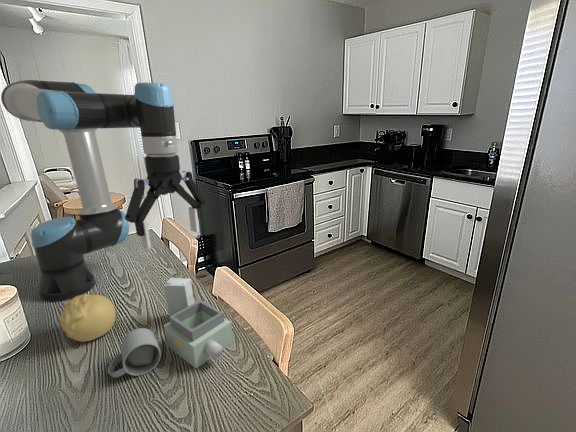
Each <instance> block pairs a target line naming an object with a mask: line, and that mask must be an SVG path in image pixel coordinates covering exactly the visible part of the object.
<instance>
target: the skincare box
mask: <svg viewBox="0 0 576 432" xmlns="http://www.w3.org/2000/svg"><path fill="white" fill-rule="evenodd" d="M163 289H164V295H165V300H166V306H167V309H168V310H167V311H168V316H169V317H170V316H172V315H174V314H176V313H177V312H179V311H181V310H183V309H185V308H187V307H189V306H190V305H192V304H194V303H195V299H194V294H193V293H194V292H193V286H192V279H191V278H186V277H185V278H183V277H182V278H181V277H179V278H178V277H170V278H169V279H168V280H166V282H165V283H164V285H163ZM169 317H168V318H169Z"/></svg>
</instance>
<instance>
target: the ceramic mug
mask: <svg viewBox="0 0 576 432" xmlns="http://www.w3.org/2000/svg"><path fill="white" fill-rule="evenodd" d="M161 352H162V351H161V348H160V346H159V344H158V341H157V338H156V336H155V334H154V333H153V332H152V330H150V329H149V328H146V327H139V328H134V329H132V330H131V331H130V332H128V333H127V334H126V335H125V337H124V338H123V340H122V342H121V352H120V353H118V355H116V356H115V357H114V358H113V359H112V360H111V362H110V363H109V365H108V367H107V373H108V375H109V376H111V377H112V378H113V379H115V378H117V379H118V378H120V377H122V376H123V375H125V374H128V375H130V376H134V377H137V376H143V375H146V374H148V373H150V372H152V371H153V370H154V369H155V368H156V367H157V366H158V364H159V362H160V360H161V356H162V353H161ZM120 362H122V367H121V368H120V369H118V370H116V371H115V369H116V366H117V365H118V364H119V363H120Z"/></svg>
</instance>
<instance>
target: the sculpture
mask: <svg viewBox="0 0 576 432" xmlns="http://www.w3.org/2000/svg"><path fill="white" fill-rule="evenodd" d="M116 315H117V314H116V308H115V306H114V304H113V302H112V300H110V299H109V298H108V297H106V296H104V295H101V294H88V293H84V294H82V295H78V296H76V297H74V298H71V299H69V301H68V300H67V301H66V302H65V304H64V310H62V311H61V313H60V316H59V319H60V322H59V324H60V327H61V328H62V329H61V330H62V332H65V335H66V336H67V337H68V339H72V340H74V341H77V342H80V343H81V342H82V343H84V342H89V341H93V340H96V339H98V338H100V337H102V336H104V335H106V334H107V333H108V332H110V330H111V329H113V326H114V324H115V321H116V317H117V316H116Z"/></svg>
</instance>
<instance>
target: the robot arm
mask: <svg viewBox="0 0 576 432" xmlns="http://www.w3.org/2000/svg"><path fill="white" fill-rule="evenodd" d="M0 97H1V99H0V100H1V104H2V105H3V107H4V109H5V110H6V112H8V113H9V114H10V115H11V116H13V117H14V118H17V119H20V120H22V121H27V122H35V123H36V122H37V123H43V124H44V126H45V127H46V128H47V129H49V130H57V131H58V132H60V133H62V135H63V137H64V140H65V144H66V149H67V153H68V155H69V157H68V158H69V159H70V164H71V167H72V170H73V171H72V172H73V176H74V179H75V183H76V187H77V191H78V194H79V195H78V196H79V198H80V201H81V206H82V207H81V210H80V211H78V217H79V219H76V218H74V217H72V216H62V217H57V218H52V219H49V220H47V221H44V222H41V223H39V224H38V225H36V226H35V227H34V228H33V229H32V230H31V232H30V235H31V236H30V237H31V242H32V243H31V244H32V245H31V246H32V247H33V248H34V252H35V255H36V259H37V263H38V266H39V268H40V269H39V270H40V274H41V276H40V280H39V288H38V292H39V296H40V298H41V300H43V301H45V302H59V301H60V302H61V301H66V300H67V301H68V300H72V299H73V298H74V297H76V296H78V295H83V294H87V293H88V292H89V291H90V290H91V289H93V287H95V285H96V282H97V281H96V278H95V275H94V273H93V272H92V270H91V268H89V266H88V265H87V263H86V262H85V258H84V255H86V254H90V253H92V252H96V251H101V250H103V249H106V248H110V247H115V246H116V245H118V244H121V243H123V242H125V241H126V240H127V238H128V236H129V232H130V226H129V225H130V224H129V223H131V224H132V223H134V225H135V232H136V235H137V236H139V237H140V240H141V246H142V247H143V248H145V249H146V250H149V249H152V245H151V238H150V232H149V226H148V225H149V224H148V222H147V221H145V220H146V217H147V216H148V214H149V213H150V211H151V210H152V207H153V206H154V204H155V202H156V201H157V200H158V198H160V196H166V195H168V194H175V192H176V193H177V194H178V195H179V196H180V197H181V198H182V199H183V200H184V201H186V203H187V204H189V206H190V207H189V206H188V215H189V216H188V217H189V224H190V226H189V227H190V231H191V232H194V233H196V234H197V233H199V232H200V228H199V227H200V226H199V220H200V218H201V214H200V209H202V205H205V204H206V200H205V198H204V196H203V195H202V193H201V191H200V190H199V187H198V186H197V185H196V183H195V181H194V178H193V173H192V172H191V171H187V170H183V171H182V172H180V170H181V165H180V156H179V155H178V154H177V153H178V152H179V148H178V140H177V139H178V137H177V128H176V120H175V119H176V118H175V109H174V101H173V95H172V89H171V87H170V86H169V85H168V84H166V83H162V82H161V83H160V82H138V83H136V84H135V85H134V93H133V94H119V93H100V92H99V93H97V92H96V90H94V89H93V87H91V86H90V85H87V84H84V83H77V82H74V81H72V82H71V81H70V82H69V81H51V80H50V81H49V80H38V79H26V80H25V79H24V80H18V81H15V82H12V83H9V84H8V85H6V86H5V87H4V88H3V89H2V92H1V94H0ZM126 128H127V129H129V128H130V129H131V128H132V129H136V128H137V129H138V128H139V130H140V136H141V144H142V151H143V154H144V155H146V156H145V157H144V164H145V170H146V174H147V175H146V178H145V179H144V178H143V179H141V178H135V179H134V180H133V191H132V195H131V197H130V201H129V204H128V207H127V211H126V213H125V212H124V211H123V210H120V209H119V207H118V206H117V205H116V204H115V203H113V202H112V198H111V196H110V191H109V186H108V182H107V178H106V173H105V170H104V166H103V160H102V155H101V152H100V149H99V143H98V140H97V135H96V131H97V130H98V129H126ZM181 181H183V182H184V184H185V185H186V187H187V189H188V190H189V192H190V193H191V195H190V193H189V192H188V191H187V190H186V189H185V188H184V186H182V184H180V183H181ZM147 186H148V187H149V189H148V191H147V192H146V196H145V198H144V200H143V197H144V193H145V189H147Z"/></svg>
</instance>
